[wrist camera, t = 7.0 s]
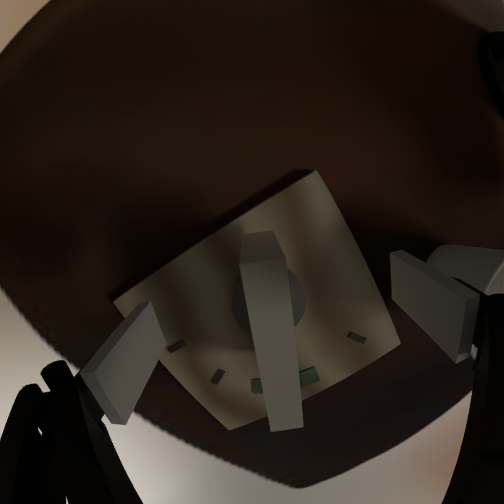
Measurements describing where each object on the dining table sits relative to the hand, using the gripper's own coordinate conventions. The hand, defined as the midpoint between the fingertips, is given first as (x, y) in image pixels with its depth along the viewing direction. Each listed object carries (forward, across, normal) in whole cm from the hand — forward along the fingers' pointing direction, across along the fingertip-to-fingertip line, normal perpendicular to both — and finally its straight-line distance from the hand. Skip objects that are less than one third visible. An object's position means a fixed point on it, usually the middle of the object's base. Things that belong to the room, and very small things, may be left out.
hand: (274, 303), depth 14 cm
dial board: (+11, -2, -7) cm, 13 cm away
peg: (+10, -1, -5) cm, 11 cm away
